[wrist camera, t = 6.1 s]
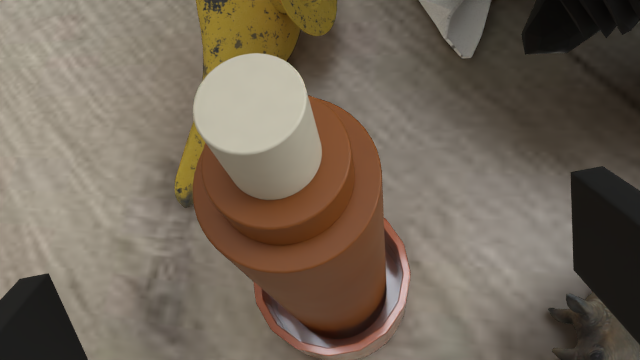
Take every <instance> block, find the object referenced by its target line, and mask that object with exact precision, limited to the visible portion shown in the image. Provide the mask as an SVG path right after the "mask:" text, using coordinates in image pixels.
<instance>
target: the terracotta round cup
mask: <svg viewBox="0 0 640 360" xmlns="http://www.w3.org/2000/svg"><path fill="white" fill-rule="evenodd" d="M384 238H385V261H386V285H387V293H386V300H385V304H384V307H383V309H382V311H381V313H380V315H379V317H378V318H377V319H376V321H375V322H374V323H373V324H372V325H371V326H370V327H369V328H367V329H366V330H365V331H363V332H361V333H360V334H358V335H355V336H353V337H349V338H343V339H331V338H326V337H323V336H320V335H317V334H315V333H313V332H312V331H310V330H309V329H308V328H306V327H305V326H304V325H303V324H302V323H301V322H299V321H298V320H297V319H296V318H295V317H294V316H293V315H291V314H290V313H289V312H288V311H287V310H286V309H285V308H283V307H282V306H281V305H280V304H279V303H278V302H277V301H276V300H274V299H273V298H272V297H271V296H270V295H269V294H268V293H266V292H265V291H264V290H263V289H262V288H261V287H260V286H258V285H257V284H256V283H255V282H254V290H255V299H256V304H257V306H258V307H259V309H260V311H261V313H262V314H263V316H264V318H265V320H266V322H267V323H268V325H269V327H270V329H271V330H272V331H273V332H275V333H276V334H277V335H279V336H280V337H281V338H282V339H284V340H285V341H286V342H288V343H289V344H290V345H292V346H293V347H294V348H296V349H297V350H299V351H301V352H303V353H305V354H306V355H308V356H312V357H315V358H319V359H322V360H357V359H361V358H363V357H365V356H368V355H370V354H372V353H373V352H375V351H377V350H378V349H379V348H381V347H382V346H383V345H384V344H385V343H386V342H387V341H388V340H389V339H390V338H391V337H392V335H393V334H394V333H395V331H396V330H397V328H398V326H399V324H400V322H401V320H402V319H403V317H404V312H405V307H406V301H407V295H408V289H409V282H410V276H411V272H410V268H409V263H408V259H407V255H406V251H405V246H404V244H403V242H402V240H401V239H400V238H399V236H398V235H397V233H396V232H395V231H394V229H393V228H392V226H391V225H390V224H389V222H388V221H387V220H386V219H385V218H384Z"/></svg>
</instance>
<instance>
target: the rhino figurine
mask: <svg viewBox="0 0 640 360" xmlns="http://www.w3.org/2000/svg"><path fill="white" fill-rule="evenodd" d="M566 301H567V305H568V307H569V308H570V309H554V308H549V309H548V310H549V312H550V314H551V315H552V316H553V317H554V318H555V319H556V320H557V321H559V322H563V323H567V324H574V328H575V330H576V332H577V337H578V343H577V346H576V347H575V348H574V349H563V348H553V349H552V352H553V353H554V354H555V355H556V356H557V357H558V358H559V359H560V360H640V345H639V344H638V342H637V341H636V340H635V339H634V338H633V337H632V336H631V334H630V333H629V332H628V331H627V330H626V329H625V328H624V326H623V325H622V324H621V323H620V322H619V321H618V320H617V319H616V317H615V316H614V315H613V314H612V313H611V312H610V311H609V309H608V308H607V307H606V306H605V305H604V304H603V303H602V302H601V300H600V299H599V298H598V297H597V296H596V295H595V294H594V292H593V293H592V294H590V295H589V296H588V297H587V298H586V300H583V299H582V298H580V297H577V296H575V295H573V294H567V295H566Z"/></svg>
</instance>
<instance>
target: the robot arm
mask: <svg viewBox="0 0 640 360" xmlns="http://www.w3.org/2000/svg"><path fill="white" fill-rule="evenodd" d="M571 199H572V232H573V265H574V271H575V272H576V273H577V274H578V275H579V277H580V278H581V279H582V280H583V281H584V282H585V283H586V284H587V286H588V287H589V288H590V289H591V290H592V291H593V292H594V294H595V295H596V296H597V297H598V298H599V299H600V300H601V302H602V303H603V304H604V305H605V306H606V307H607V308H608V309H609V311H610V312H611V313H612V314H613V315H614V316H615V317H616V319H617V320H618V321H619V322H620V323H621V324H622V325H623V326H624V328H625V329H626V330H627V331H628V332H629V333H630V334H631V336H632V337H633V338H634V339H635V340H636V341H637V342H638V344H639V345H640V191H639V190H638V189H636V188H635V187H633V186H632V185H630V184H629V183H627V182H626V181H624V180H623V179H621V178H620V177H618V176H617V175H615V174H614V173H612V172H611V171H609V170H608V169H606V168H605V167H603V166H601V167H596V168H591V169H585V170H580V171H575V172H571ZM0 360H88V359H87V356H86V354H85V352H84V350H83V348H82V345H81V343H80V341H79V339H78V337H77V334H76V332H75V330H74V328H73V326H72V324H71V321H70V319H69V317H68V315H67V313H66V310H65V308H64V306H63V304H62V302H61V299H60V297H59V295H58V293H57V291H56V289H55V286H54V284H53V282H52V280H51V278H50V275H49V273H48V274H43V275H38V276H33V277H28V278H22V279H19V280H18V282H17V283H16V284H15V285H14V286H13V287H12V288H11V289H10V290H9V291H8V292H7V293H6V295H5V296H4V297H3V298H2V299H1V300H0Z"/></svg>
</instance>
